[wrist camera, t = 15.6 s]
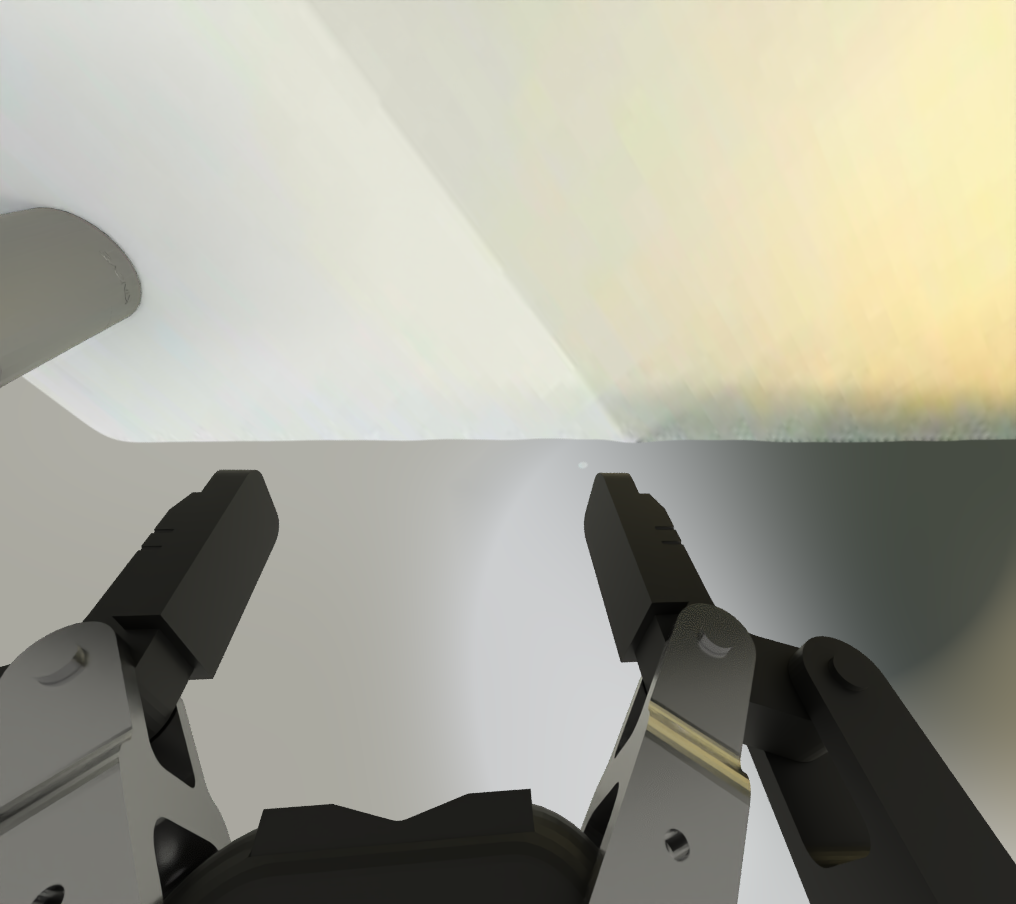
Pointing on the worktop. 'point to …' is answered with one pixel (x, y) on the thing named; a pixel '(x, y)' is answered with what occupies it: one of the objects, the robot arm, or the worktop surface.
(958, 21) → the worktop surface
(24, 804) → the robot arm
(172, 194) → the worktop surface
